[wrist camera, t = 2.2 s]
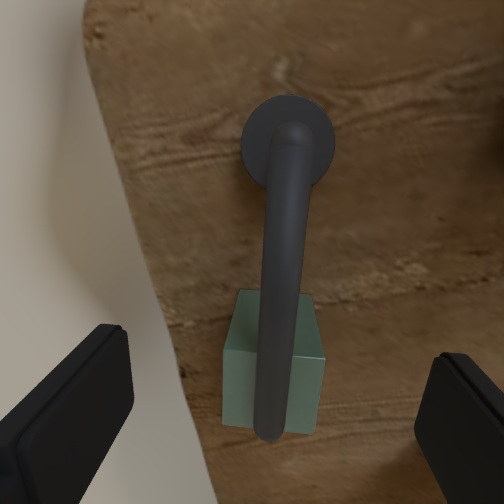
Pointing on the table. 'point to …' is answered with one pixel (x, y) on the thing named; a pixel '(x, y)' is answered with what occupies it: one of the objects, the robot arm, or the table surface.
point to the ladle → (282, 235)
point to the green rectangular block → (244, 366)
